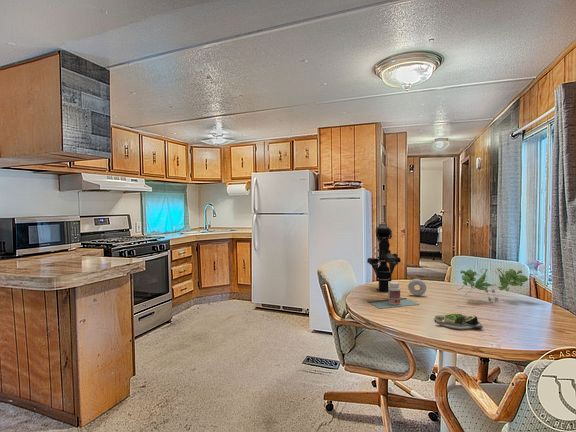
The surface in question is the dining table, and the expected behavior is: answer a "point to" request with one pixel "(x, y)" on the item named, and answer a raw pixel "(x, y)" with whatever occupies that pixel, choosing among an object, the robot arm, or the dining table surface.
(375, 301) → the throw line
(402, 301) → the mat
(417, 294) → the donut
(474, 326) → the salad plate
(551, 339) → the dining table surface
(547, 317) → the dining table surface
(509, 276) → the plant cuttings
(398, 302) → the pill bottle
